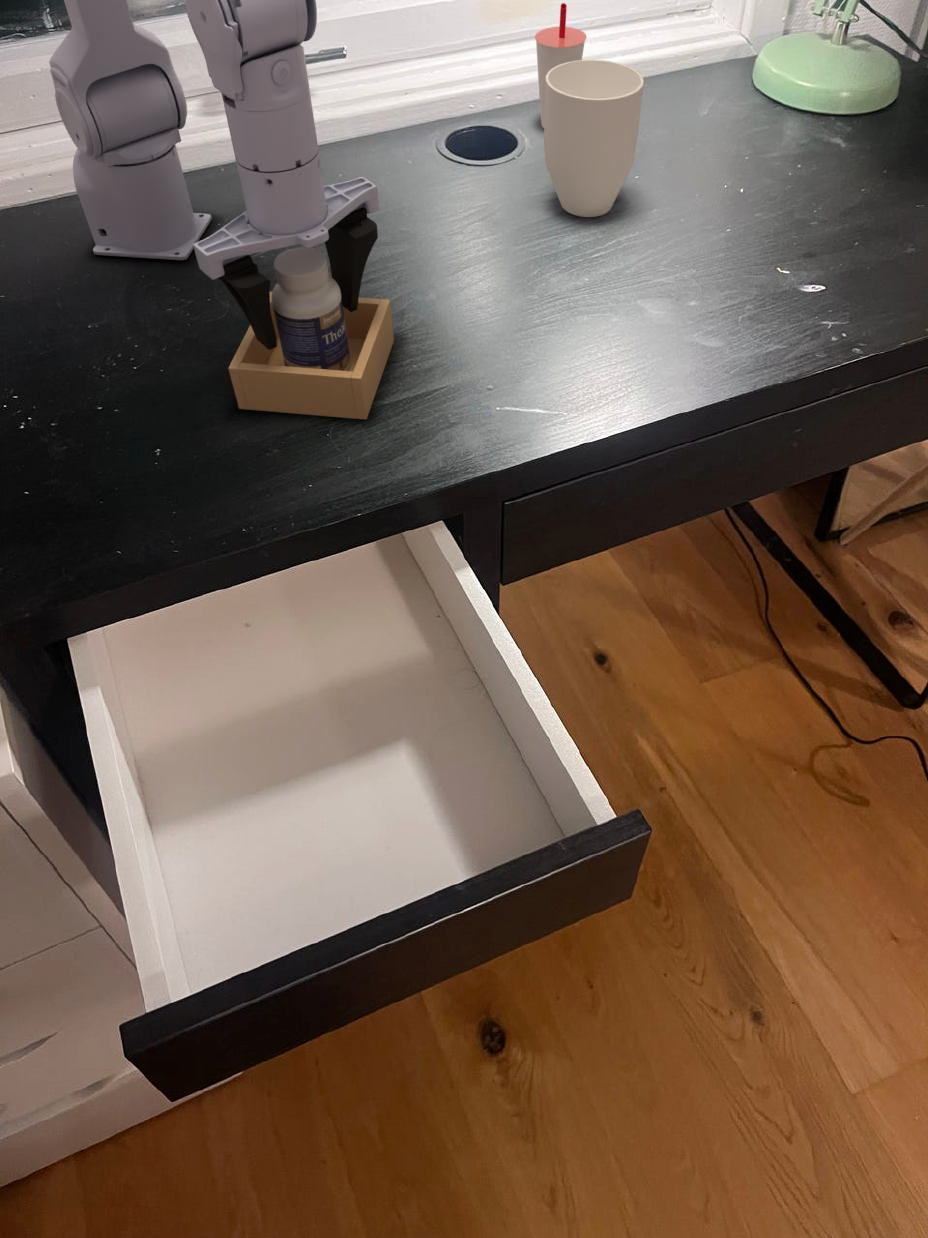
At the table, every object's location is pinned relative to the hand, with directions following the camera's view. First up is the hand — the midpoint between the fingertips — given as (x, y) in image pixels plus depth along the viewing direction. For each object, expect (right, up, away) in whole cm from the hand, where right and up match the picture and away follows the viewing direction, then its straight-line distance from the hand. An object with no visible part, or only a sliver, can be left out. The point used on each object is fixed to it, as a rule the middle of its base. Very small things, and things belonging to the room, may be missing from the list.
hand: (307, 323), depth 76 cm
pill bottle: (0, -3, +3) cm, 4 cm away
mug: (+24, +19, +20) cm, 37 cm away
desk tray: (0, -3, +3) cm, 5 cm away
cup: (+23, +31, +30) cm, 49 cm away
